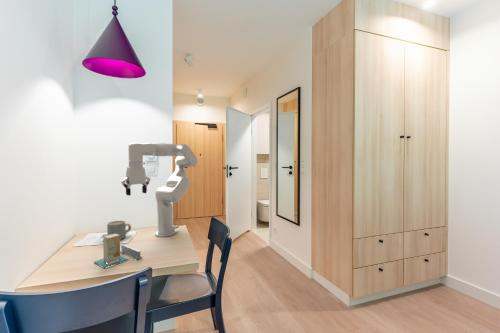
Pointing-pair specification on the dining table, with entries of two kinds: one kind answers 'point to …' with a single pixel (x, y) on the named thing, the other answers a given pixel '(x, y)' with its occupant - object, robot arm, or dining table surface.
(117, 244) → the skincare box
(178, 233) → the dining table surface
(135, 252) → the grey drawer handle
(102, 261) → the pad
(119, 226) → the coffee mug
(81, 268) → the dining table surface
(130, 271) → the dining table surface
